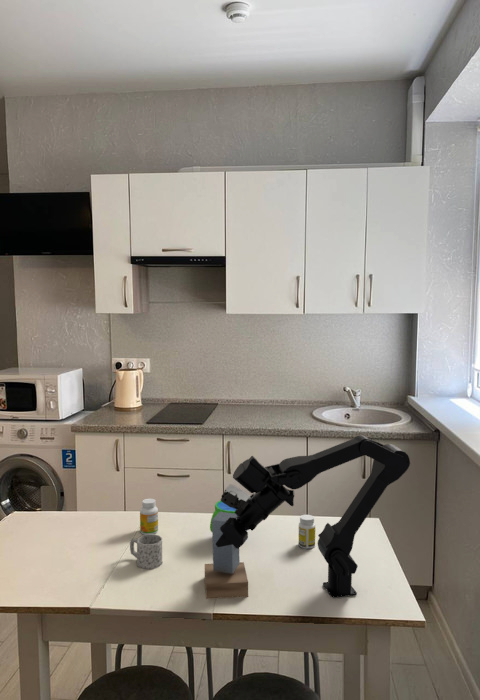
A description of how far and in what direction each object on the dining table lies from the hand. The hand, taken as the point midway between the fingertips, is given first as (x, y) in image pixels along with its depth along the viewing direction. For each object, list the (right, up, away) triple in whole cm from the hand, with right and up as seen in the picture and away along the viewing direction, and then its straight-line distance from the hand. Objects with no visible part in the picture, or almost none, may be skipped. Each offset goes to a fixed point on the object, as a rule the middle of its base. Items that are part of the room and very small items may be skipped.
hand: (220, 540), depth 137 cm
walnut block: (+1, -12, +1) cm, 12 cm away
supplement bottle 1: (-23, -8, +32) cm, 41 cm away
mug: (-21, -10, +13) cm, 27 cm away
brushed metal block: (+1, -7, 0) cm, 7 cm away
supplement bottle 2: (+24, -10, +24) cm, 35 cm away
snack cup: (+3, -9, +28) cm, 30 cm away
